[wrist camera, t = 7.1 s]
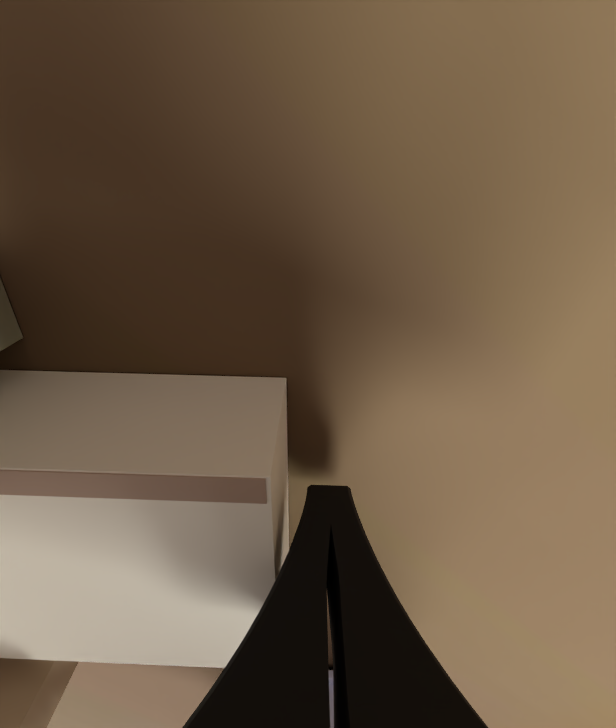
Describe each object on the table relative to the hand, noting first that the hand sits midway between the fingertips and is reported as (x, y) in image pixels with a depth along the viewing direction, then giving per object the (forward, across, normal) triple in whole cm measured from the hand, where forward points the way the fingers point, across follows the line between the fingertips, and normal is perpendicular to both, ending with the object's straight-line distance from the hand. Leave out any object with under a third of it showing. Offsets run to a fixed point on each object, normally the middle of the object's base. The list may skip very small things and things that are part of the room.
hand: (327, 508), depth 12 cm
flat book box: (+1, +7, 0) cm, 8 cm away
